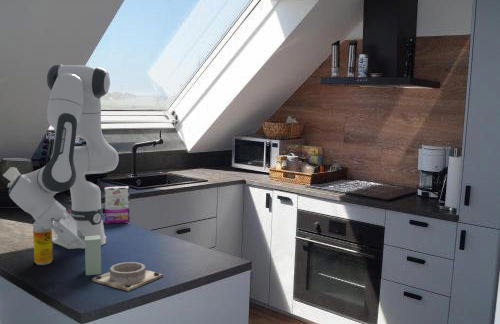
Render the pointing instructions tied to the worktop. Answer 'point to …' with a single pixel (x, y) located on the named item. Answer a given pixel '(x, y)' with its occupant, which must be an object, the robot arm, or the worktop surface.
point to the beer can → (42, 244)
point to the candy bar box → (117, 204)
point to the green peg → (93, 255)
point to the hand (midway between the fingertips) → (84, 242)
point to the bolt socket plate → (122, 285)
